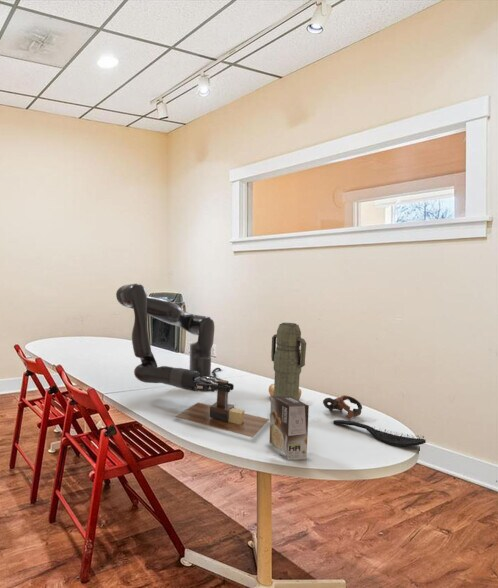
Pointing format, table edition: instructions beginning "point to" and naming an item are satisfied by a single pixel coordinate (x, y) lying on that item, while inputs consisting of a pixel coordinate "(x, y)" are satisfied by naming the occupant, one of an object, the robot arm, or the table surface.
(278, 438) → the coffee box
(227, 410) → the wooden post on base
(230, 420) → the light tan wooden block
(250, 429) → the cutting board
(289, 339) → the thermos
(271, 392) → the pastry
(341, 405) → the brown looped piece
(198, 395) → the table surface
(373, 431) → the hairbrush
